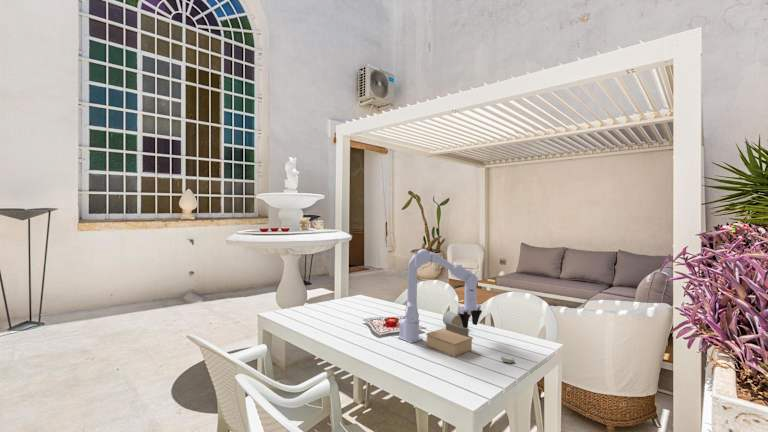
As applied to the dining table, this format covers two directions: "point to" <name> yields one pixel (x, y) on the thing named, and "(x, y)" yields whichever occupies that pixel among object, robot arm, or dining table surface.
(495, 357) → the dining table surface
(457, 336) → the carton lid
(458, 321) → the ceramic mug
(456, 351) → the carton
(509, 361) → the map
